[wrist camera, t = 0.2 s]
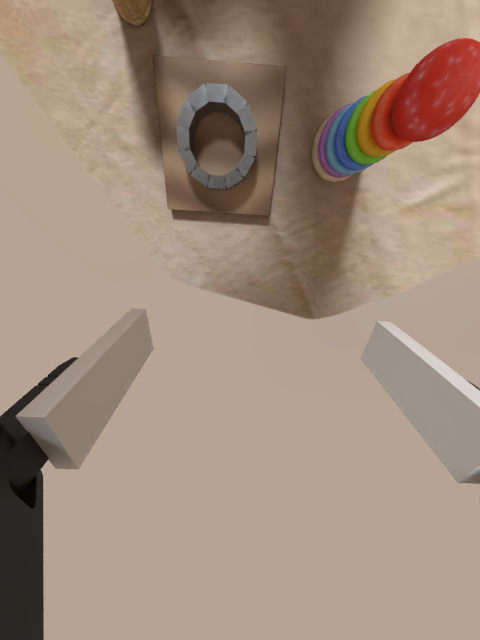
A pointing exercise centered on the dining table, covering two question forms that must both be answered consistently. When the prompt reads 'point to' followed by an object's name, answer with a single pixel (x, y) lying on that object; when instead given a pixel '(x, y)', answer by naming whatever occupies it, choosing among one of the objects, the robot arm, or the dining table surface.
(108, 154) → the dining table surface
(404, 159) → the dining table surface
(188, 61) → the base board
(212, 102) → the collar
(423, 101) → the stacking toy
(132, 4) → the sprinkles bottle
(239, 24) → the dining table surface
